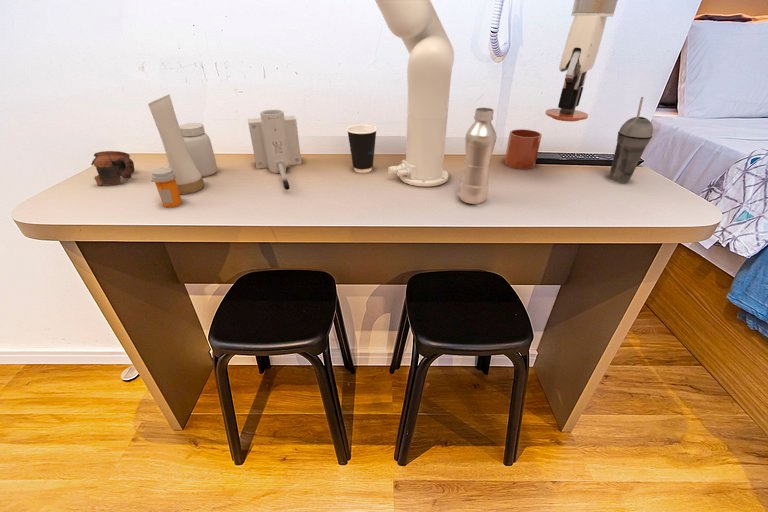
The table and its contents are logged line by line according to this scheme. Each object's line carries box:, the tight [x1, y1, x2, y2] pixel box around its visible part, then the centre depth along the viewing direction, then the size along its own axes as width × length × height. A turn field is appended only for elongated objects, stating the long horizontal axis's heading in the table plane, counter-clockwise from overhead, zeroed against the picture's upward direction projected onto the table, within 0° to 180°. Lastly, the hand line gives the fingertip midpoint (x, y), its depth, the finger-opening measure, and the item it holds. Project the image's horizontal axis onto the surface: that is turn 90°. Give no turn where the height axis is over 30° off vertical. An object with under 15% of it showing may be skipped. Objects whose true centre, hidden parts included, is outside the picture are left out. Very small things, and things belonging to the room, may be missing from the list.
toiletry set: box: [147, 94, 218, 209], centre depth 89 cm, size 25×8×20 cm, turn 2°
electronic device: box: [247, 109, 302, 191], centre depth 96 cm, size 12×26×15 cm, turn 18°
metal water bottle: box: [458, 107, 498, 205], centre depth 82 cm, size 6×7×20 cm
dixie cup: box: [345, 124, 378, 174], centre depth 102 cm, size 8×8×11 cm
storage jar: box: [504, 128, 543, 170], centre depth 106 cm, size 8×8×8 cm
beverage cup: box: [608, 96, 654, 184], centre depth 93 cm, size 7×7×20 cm
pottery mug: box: [90, 150, 136, 186], centre depth 97 cm, size 12×10×8 cm
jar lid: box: [544, 86, 589, 122], centre depth 84 cm, size 9×9×7 cm
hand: (568, 106), depth 84 cm, fingers closed on jar lid, 3 cm apart
